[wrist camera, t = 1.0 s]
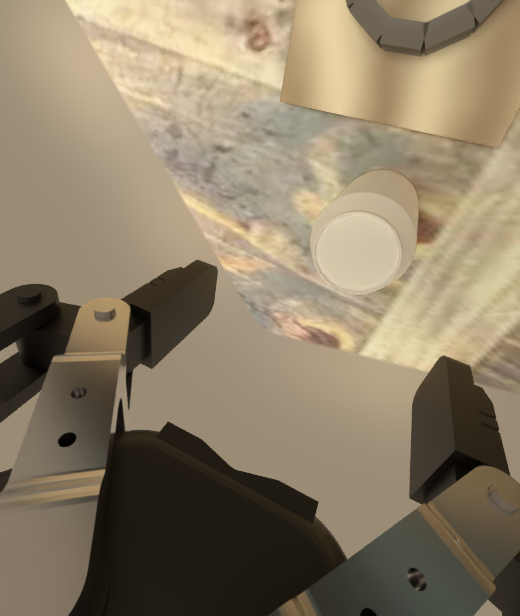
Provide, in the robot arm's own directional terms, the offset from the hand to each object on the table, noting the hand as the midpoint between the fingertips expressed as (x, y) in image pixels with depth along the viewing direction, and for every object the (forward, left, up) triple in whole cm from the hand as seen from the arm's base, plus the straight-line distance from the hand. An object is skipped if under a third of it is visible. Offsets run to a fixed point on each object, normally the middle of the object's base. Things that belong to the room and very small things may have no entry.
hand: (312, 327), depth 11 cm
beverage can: (0, 0, -21) cm, 21 cm away
